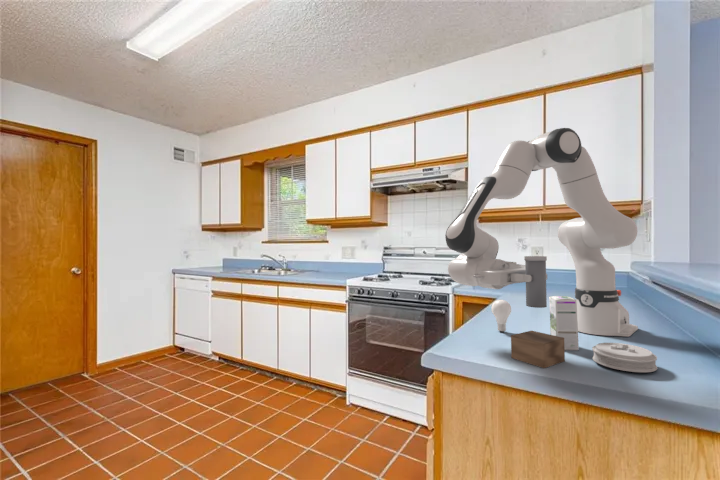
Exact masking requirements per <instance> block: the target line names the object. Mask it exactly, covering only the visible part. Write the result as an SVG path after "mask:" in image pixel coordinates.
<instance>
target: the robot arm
mask: <svg viewBox="0 0 720 480" xmlns="http://www.w3.org/2000/svg"><path fill="white" fill-rule="evenodd" d="M549 168H552V169H554V171H555V172H556V176H557V180H558V184H559V188H560V190H561V194H562V196H563V201H564V203H565V205H566V206H567V207H568V208H569V209H572V210H574V211H575V212H576V213H578V215H579V216H580V217H575V218H572V219H569V220H565V221H564V222H562V223H561V224H560V225H559V226H558V230H557V237H558V238H557V239H558V240H559V242H560V244H562V245H563V246H565V247H566V249H567V250H568V252H569V253H570V256H571V258H572V260H573V264H574V268H575V269H574V270H575V280H576V281H575V282H576V283H575V285H576V287H575V289H574V299H576V300H577V320H578V333H579V332H581V333H584V334H590V335H596V336H605V337H606V336H610V337H611V336H612V337H613V336H614V337H626V338H627V337H630V336H632V335H633V334H634V333H635V332H636V331H638V330H639V326H638V325H635V324H633V323H632V324H631V323H630V313H629V310H627V309H626V308H625V307H624V306H623V305H622V304H621V302H620V299H619V297H621V296H622V290H620V289H616V287H617V286H616V268H615V266H614V264H613V263H611V262H610V261H608V260H607V259H606V258H605V256H604V255H603V254H602V250H601V249H610V250H611V249H612V250H614V249H618V248H624V247H627V246H631V245H632V244H633V243H634V241H636V238H637V236H638V227H637V224H636V222H635V221H634V220H633V219H632V218H631V217H629V216H627V215H625V214H623V213H622V212H620V211H619V210H617V209H616V207H614V205H612V203H611V202H610V200H608V198H607V196H606V195H605V192H604V189H603V187H602V185H601V181H600V179H599V176H598V175H599V174H598V173H597V169H596V166H595V164H594V161H593V159H592V156H591V155H590V153H589V152H588V150H587V149H586V148H585V147H584V146H582V141H581V139H580V136H579V135H578V134H577V132H576V130H573V129H572V128H569V127H561V128H560V127H559V128H556V129H553V130H551V131H549V132H545V133H541V134H540V135H538V136H537V137H535V138H533V139H530V140H528V141H526V140H514V141H512V142H510V143H509V144H508V145H507V146H506V147H505V148H504V150H503V151H502V153H501V154H500V156H499V158H498V160H497V161H496V164H495V166H494V169H493V170H492V172H491V174H490V175H489V176H486V177H483V178H481V180H480V181H479V182H478V184H476V186H475V187H474V189H473V191H472V192H471V193H470V195H469V197H468V199H467V200H466V202H465V203H464V205H463V207H462V208H461V210H460V211H459V213H458V214H457V216H455V218H454V219H453V220H452V222H451V223H450V224H449V226H448V227H447V228H446V231H445V243H446V246H447V248H449V249H450V250H452V251H454V252H456V253H458V254H459V255H458V256H457V257H455V258H454V259H452V260H451V261H449V262H448V264H447V265H448V266H447V271H448V272H447V273H448V275H449V277H450V278H451V280H452V281H454V282H456V283H457V284H459V285H464V286H468V287H469V286H470V287H478V286H479V287H481V288H483V289H493V290H501V289H503V288H505V287H507V286H509V285H513V284H520V283H521V284H522V283H526V282H532V281H533V275H529V274H526V271H525V264H520V263H518V264H517V262H516V261H506V260H502V259H501V258H497V256H498V252H499V248H500V247H499V242H498V240H497V239H496V238H495V237H494V236H492V235H491V234H489V233H488V232H486V231H484V230H482V228H480V227H478V226H477V220H478V219H479V217H480V216H481V214H482V213H483V211H484V209H485V207H486V206H487V204H488V202H489V201H491V200H492V199H495V200H512V199H514V198H517V197H518V196H520V195H521V194H522V193H523V191H524V189H525V187H526V186H527V184H528V181H529V179H530V178H531V177H530V176H531V174H532V172H536V171H539V170H544V169H545V170H546V169H549ZM547 280H548V274H547V273H546V281H547Z"/></svg>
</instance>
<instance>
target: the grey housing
mask: <svg viewBox="0 0 720 480" xmlns="http://www.w3.org/2000/svg"><path fill="white" fill-rule="evenodd" d="M547 257H548V256H544V255H542V256H541V255H528V256H527V255H525V256H524V257H523V258H524V262H525V263H524V265H525V271H526V274H529V275H533V281H532V282H525V306H526V307H529V308H535V309H539V308H540V309H543V308H547V305H548V304H547V302H548V299H547V280H546V274H547V262H546V261H547Z"/></svg>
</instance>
